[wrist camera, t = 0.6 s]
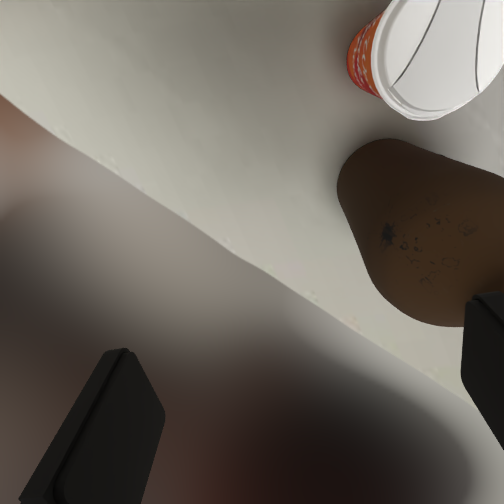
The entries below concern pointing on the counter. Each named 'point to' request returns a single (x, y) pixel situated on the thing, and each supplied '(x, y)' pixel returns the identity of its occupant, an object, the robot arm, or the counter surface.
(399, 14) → the paper cup
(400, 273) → the olive oil
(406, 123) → the counter surface
